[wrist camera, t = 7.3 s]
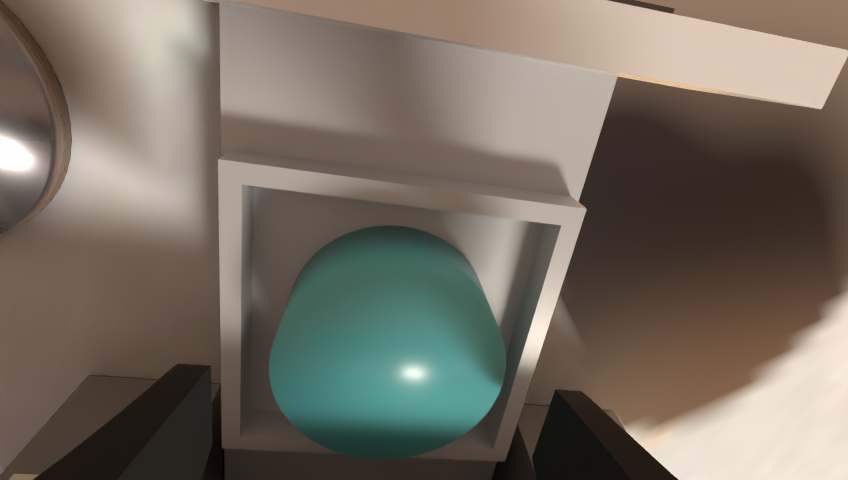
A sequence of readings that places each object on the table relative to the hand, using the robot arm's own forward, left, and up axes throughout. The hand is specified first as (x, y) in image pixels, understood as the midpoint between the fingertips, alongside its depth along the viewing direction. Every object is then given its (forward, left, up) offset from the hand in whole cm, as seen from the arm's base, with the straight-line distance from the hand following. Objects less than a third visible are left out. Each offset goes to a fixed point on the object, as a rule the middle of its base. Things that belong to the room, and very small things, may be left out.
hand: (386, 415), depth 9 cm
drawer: (0, 0, -5) cm, 5 cm away
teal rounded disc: (0, 0, -4) cm, 4 cm away
